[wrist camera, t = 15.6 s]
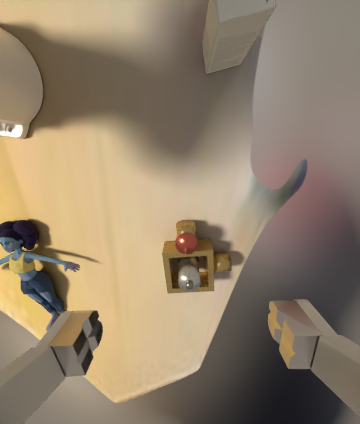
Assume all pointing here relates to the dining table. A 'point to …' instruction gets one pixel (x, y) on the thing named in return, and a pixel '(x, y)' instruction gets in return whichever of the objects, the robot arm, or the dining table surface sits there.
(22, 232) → the figurine
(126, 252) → the dining table surface
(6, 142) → the dining table surface
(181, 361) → the dining table surface
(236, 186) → the dining table surface
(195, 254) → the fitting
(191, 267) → the cylinder
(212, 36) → the skincare box
